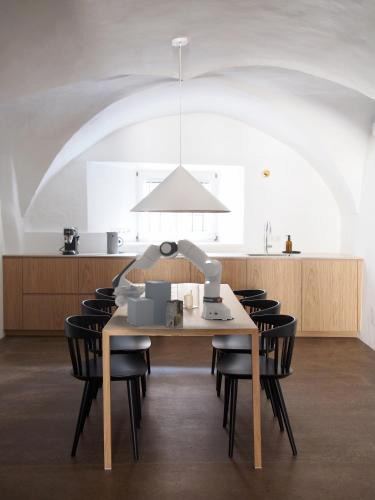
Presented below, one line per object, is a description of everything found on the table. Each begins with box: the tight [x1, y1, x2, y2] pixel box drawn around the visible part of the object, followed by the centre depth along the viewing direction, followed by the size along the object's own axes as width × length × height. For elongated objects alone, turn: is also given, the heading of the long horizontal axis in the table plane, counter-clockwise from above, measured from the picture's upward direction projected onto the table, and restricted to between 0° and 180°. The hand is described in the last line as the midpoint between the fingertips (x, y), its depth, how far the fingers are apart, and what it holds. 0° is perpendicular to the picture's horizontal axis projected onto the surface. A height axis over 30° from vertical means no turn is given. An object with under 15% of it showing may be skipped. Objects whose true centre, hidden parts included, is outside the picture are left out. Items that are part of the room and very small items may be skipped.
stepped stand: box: [126, 279, 172, 327], centre depth 310 cm, size 14×24×26 cm, turn 118°
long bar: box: [130, 283, 145, 293], centre depth 312 cm, size 20×4×4 cm, turn 28°
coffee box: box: [165, 299, 184, 329], centre depth 299 cm, size 9×6×16 cm
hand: (133, 285), depth 317 cm, fingers closed on long bar, 2 cm apart
